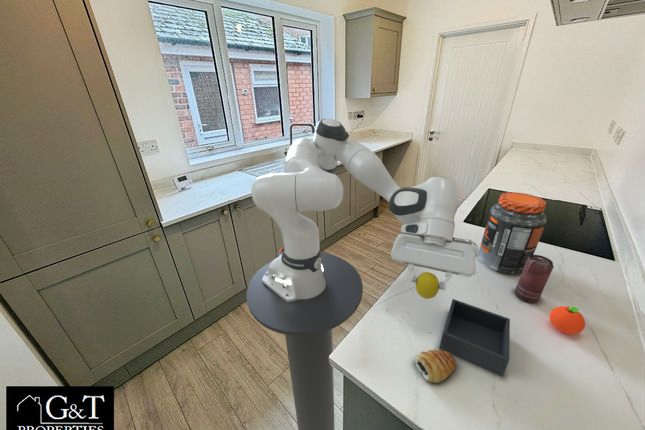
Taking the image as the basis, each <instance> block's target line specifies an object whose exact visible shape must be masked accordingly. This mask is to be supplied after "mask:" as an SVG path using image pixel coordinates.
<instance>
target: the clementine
mask: <svg viewBox="0 0 645 430" xmlns="http://www.w3.org/2000/svg"><path fill="white" fill-rule="evenodd" d="M579 310H580V309H579V308H578V307H576V306H566V305H560V306H556V307H554V308H553V309H552V310H551V311H550V313H549V321H550V323H551V325H552V326H553V327H554V328H555V329H556V330H557V331H559V332H561V333H563V334H567V335H577V334H580V333H582V332H583V331H584V330H585V328H586V319H585V317H584V316H583V315H582V313H581V312H580V311H579Z"/></svg>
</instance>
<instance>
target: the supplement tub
mask: <svg viewBox="0 0 645 430" xmlns="http://www.w3.org/2000/svg"><path fill="white" fill-rule="evenodd" d="M497 201H498V202H497V203H495V204H493V206H492V207H490V210H489V213H488V217H487V221H486V223H485V224H486V225H485V228H484V231H483V235H482V239H481V242H480V247H479V249H478V258H479V260H480V262H481V263H482V264H484V265H485V266H486V267H488V269H490V270H492V271H495V272H497V273H501V274H506V275H519V274H520V275H521V273H522V271H523V268H524V266H525V263H526V260H527V258H528V257H530V256H531V255H535V252H536V250H537V248H538V245H539V243H540V239H541V237H542V235H543V232H544V229H545V227H546V224H547V220H548V219H547V215H546V213H545V210H546V206H547V201H546V200H544V199H543V198H541V197H539V196H537V195H533V194H529V193H525V192H517V191H516V192H515V191H509V192H503V193H501V194H500V195H499V198H498V200H497Z"/></svg>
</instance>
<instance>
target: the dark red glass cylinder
mask: <svg viewBox="0 0 645 430" xmlns="http://www.w3.org/2000/svg"><path fill="white" fill-rule="evenodd" d="M553 269H554V262H553V261H552V260H551V259H550V258H548V257H546V256H544V255H540V254H533V255H531V256H530V257H528V258H527V260H526V263H525V266H524V268H523V271H522V273H520V276H519V278H518V281H517V283H516V284H517V285H516V287H515V290H514V293H515V296H516V298H518V299H519V300H521V301H522V302H525V303H528V304H535V303H537V302H539V301H540V298H541V297H542V294H543V291H544V290H545V288H546V285H547V283H548V281H549V279H550V276H551V274H552V271H553Z"/></svg>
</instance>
